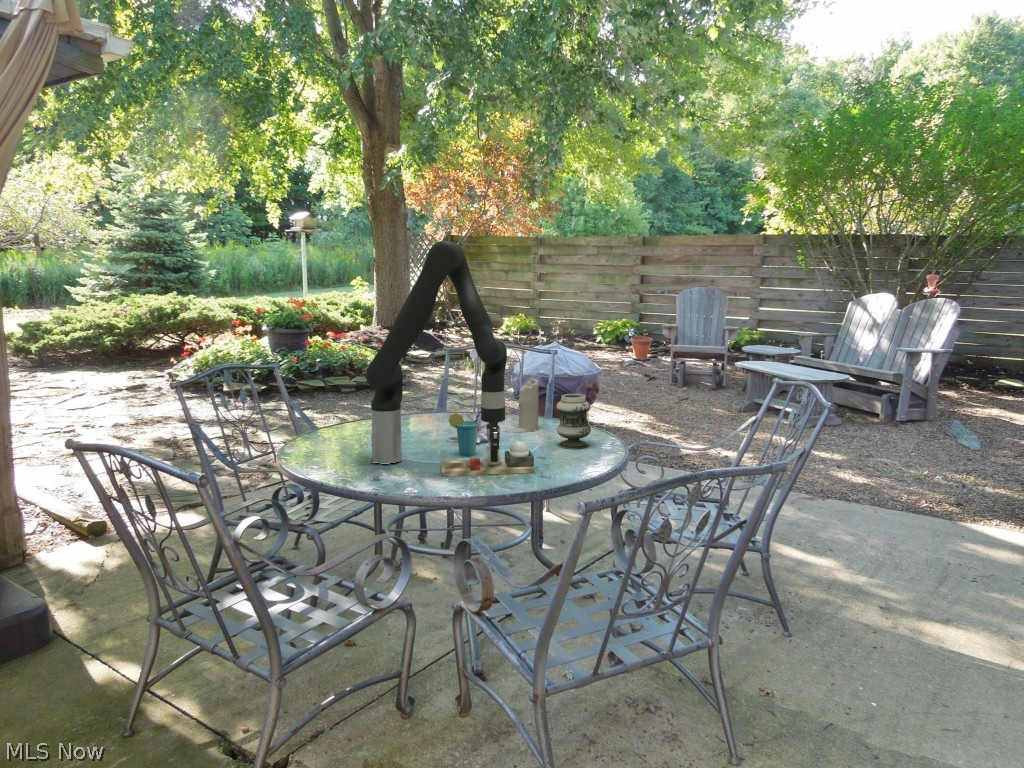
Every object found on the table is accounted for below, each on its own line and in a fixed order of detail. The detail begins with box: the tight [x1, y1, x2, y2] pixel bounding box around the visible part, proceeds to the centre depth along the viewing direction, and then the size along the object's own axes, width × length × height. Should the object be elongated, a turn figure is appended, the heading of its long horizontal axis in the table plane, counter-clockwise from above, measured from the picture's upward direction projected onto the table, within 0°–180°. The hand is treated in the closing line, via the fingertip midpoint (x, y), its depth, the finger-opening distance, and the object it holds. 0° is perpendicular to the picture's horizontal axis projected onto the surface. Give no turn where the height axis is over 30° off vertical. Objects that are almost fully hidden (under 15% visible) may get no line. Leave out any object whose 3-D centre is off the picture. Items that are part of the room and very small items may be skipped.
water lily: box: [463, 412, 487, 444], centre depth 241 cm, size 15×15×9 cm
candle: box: [502, 377, 540, 433], centre depth 256 cm, size 7×14×20 cm, turn 107°
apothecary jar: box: [556, 393, 592, 450], centre depth 233 cm, size 12×12×18 cm
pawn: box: [486, 441, 501, 465], centre depth 205 cm, size 4×4×8 cm
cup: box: [448, 410, 481, 457], centre depth 222 cm, size 14×8×15 cm, turn 99°
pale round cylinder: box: [508, 440, 530, 457], centre depth 206 cm, size 6×6×6 cm
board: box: [440, 449, 536, 477], centre depth 205 cm, size 28×12×5 cm, turn 97°
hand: (493, 459), depth 205 cm, fingers open, 4 cm apart
